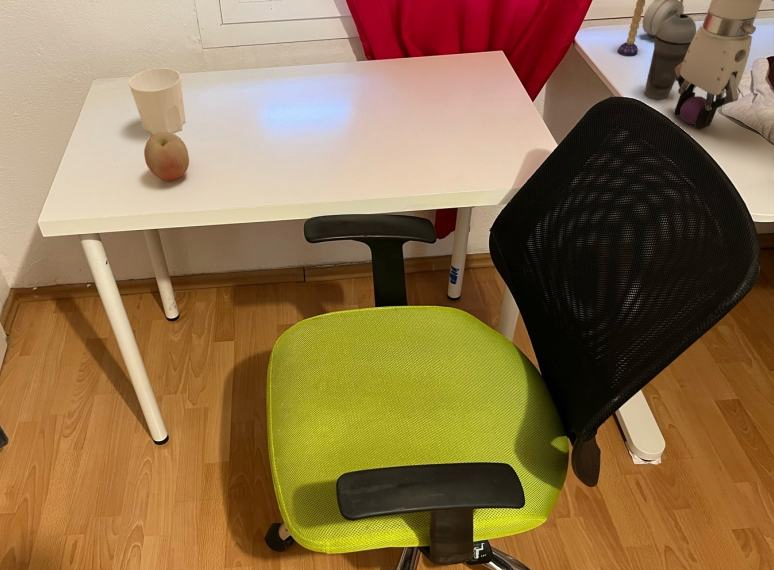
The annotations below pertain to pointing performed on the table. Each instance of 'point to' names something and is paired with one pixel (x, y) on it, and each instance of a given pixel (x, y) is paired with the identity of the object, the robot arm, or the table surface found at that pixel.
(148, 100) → the cup
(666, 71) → the beverage cup
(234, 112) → the table surface
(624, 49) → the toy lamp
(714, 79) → the robot arm
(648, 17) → the headphones
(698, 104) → the ball
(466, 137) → the table surface
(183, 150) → the fruit
